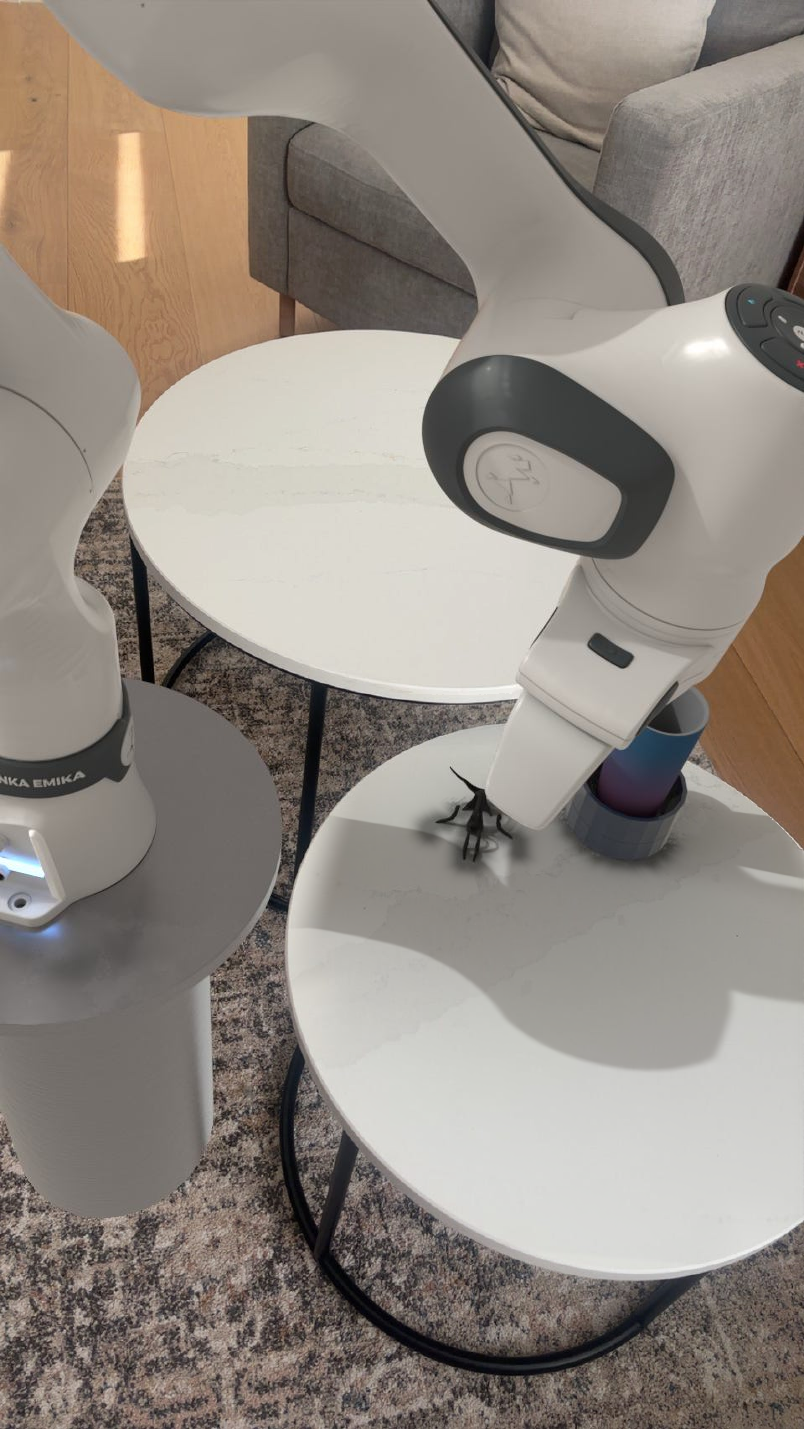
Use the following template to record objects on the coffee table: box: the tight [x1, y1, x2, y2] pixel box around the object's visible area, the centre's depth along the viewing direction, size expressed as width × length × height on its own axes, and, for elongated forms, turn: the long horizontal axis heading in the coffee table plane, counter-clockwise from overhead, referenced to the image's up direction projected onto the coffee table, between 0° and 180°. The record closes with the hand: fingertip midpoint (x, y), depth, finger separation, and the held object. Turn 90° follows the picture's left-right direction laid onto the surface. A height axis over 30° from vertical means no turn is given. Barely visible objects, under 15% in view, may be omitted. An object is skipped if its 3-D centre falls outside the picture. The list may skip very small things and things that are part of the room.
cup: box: [594, 685, 711, 818], centre depth 89 cm, size 7×7×15 cm
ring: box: [565, 761, 688, 862], centre depth 93 cm, size 9×9×6 cm
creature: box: [434, 766, 514, 863], centre depth 90 cm, size 8×5×8 cm
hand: (564, 759), depth 66 cm, fingers open, 8 cm apart
